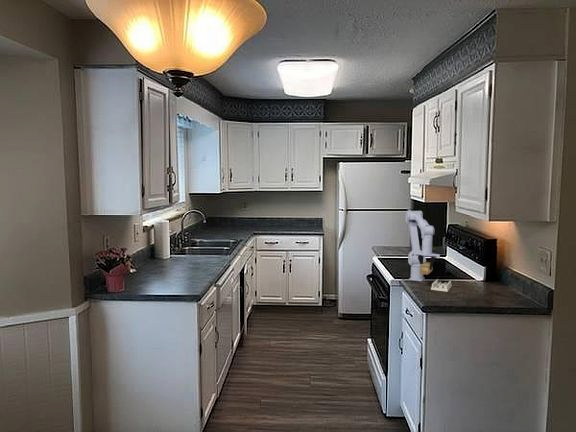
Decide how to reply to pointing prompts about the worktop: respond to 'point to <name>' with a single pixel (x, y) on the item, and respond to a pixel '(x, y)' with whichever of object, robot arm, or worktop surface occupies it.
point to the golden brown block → (425, 268)
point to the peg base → (441, 286)
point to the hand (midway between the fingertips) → (426, 268)
